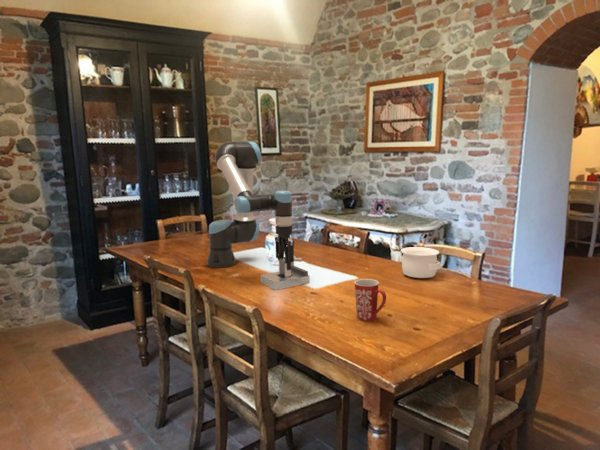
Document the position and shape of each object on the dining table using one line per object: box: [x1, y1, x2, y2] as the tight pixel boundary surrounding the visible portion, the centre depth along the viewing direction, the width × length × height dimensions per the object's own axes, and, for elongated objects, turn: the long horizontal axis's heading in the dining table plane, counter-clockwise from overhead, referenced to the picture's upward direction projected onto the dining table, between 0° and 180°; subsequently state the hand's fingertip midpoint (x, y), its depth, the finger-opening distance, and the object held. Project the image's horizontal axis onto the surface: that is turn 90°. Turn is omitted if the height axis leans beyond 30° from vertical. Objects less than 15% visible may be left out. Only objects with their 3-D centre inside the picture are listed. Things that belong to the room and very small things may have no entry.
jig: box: [259, 265, 311, 291], centre depth 216 cm, size 14×18×6 cm
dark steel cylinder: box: [278, 256, 290, 278], centre depth 215 cm, size 5×5×10 cm
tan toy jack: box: [291, 255, 303, 266], centre depth 239 cm, size 10×10×10 cm
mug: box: [353, 278, 387, 322], centre depth 171 cm, size 13×9×14 cm
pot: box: [398, 246, 441, 279], centre depth 224 cm, size 22×17×12 cm
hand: (285, 275), depth 216 cm, fingers closed on dark steel cylinder, 5 cm apart
